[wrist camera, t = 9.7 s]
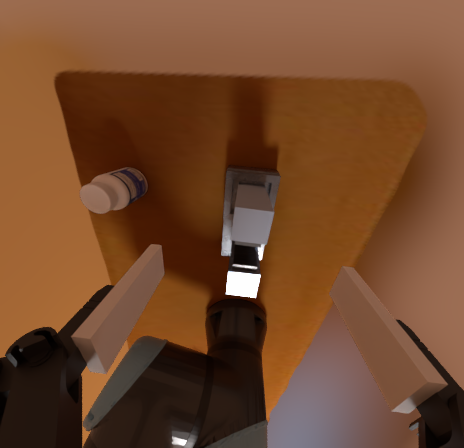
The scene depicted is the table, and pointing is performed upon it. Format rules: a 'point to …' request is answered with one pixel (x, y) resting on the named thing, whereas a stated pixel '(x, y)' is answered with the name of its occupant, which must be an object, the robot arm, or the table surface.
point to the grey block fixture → (241, 257)
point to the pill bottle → (114, 190)
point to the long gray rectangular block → (252, 215)
